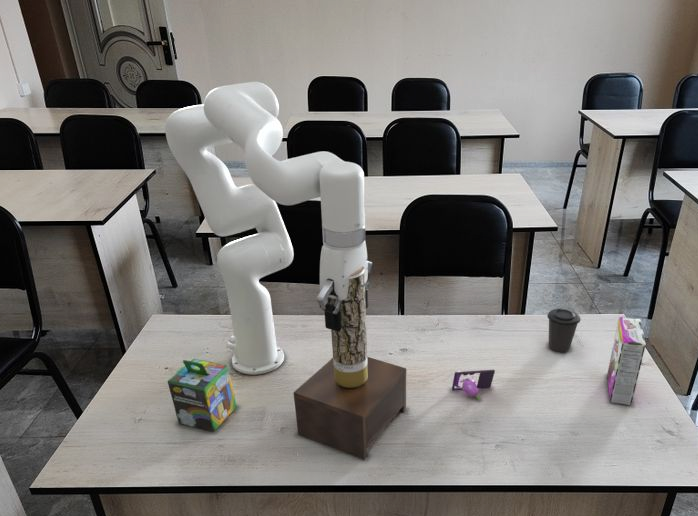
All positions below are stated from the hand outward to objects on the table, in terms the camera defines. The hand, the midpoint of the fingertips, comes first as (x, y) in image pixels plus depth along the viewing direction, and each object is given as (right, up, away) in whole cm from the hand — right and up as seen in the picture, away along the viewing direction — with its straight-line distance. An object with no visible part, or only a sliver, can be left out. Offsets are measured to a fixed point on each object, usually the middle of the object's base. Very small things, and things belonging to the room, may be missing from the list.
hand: (347, 317), depth 116 cm
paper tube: (0, -13, +8) cm, 15 cm away
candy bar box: (+60, -16, +23) cm, 67 cm away
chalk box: (-32, -21, +15) cm, 41 cm away
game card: (+27, -17, +22) cm, 38 cm away
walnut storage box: (0, -22, +13) cm, 26 cm away
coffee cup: (+51, -7, +39) cm, 64 cm away
